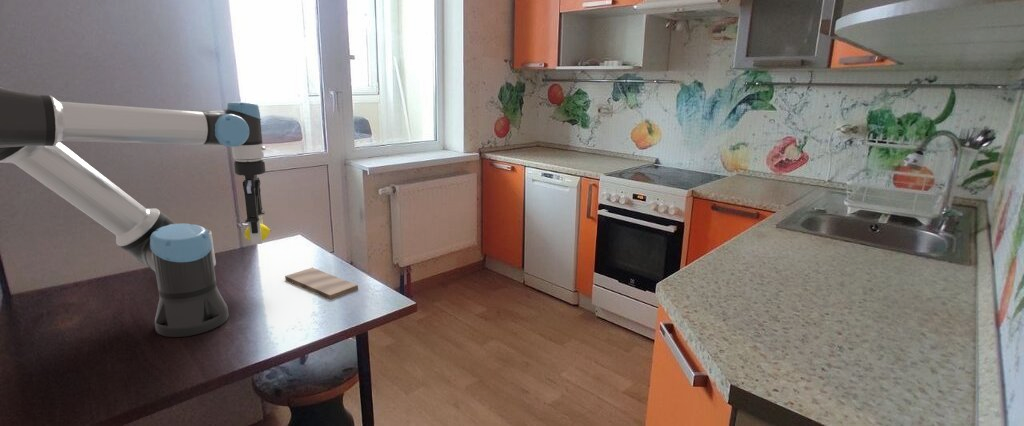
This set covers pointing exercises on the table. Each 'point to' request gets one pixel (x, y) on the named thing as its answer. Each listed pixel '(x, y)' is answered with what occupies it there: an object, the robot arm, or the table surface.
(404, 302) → the table surface
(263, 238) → the lemon
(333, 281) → the cutting board
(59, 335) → the table surface
